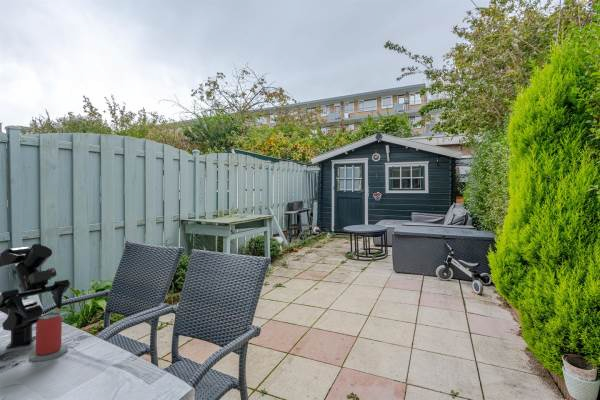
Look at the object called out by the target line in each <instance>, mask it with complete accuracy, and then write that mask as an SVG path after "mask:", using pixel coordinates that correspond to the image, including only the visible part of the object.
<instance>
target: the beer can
mask: <svg viewBox="0 0 600 400" xmlns="http://www.w3.org/2000/svg"><path fill="white" fill-rule="evenodd" d="M62 322H63V321H62V316H61V313H59V312H49V313H45V314H42V315H41V316H40V317H39V318H38V321H37V323H35V324H36V325H35V336H36V338H35V351H36V352H35V353H36V354H37V355H40V356H43V355H49V354H52V353H55V352H57V351H58V350H59V349H60V348H61V345H62V334H63V333H62V332H63V331H62V329H63V328H62V327H63V326H62V324H63V323H62Z"/></svg>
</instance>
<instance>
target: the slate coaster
mask: <svg viewBox="0 0 600 400" xmlns="http://www.w3.org/2000/svg"><path fill="white" fill-rule="evenodd" d="M68 349H69V347H68V346H67V345H66V344H61V348H60V349H59V350H58V351H57V352H55V353H52V354H49V355H43V356H40V355H37V354H36V353H35V352H36V350H33V352H31V353H30V354H29V355H28V361H29V362H32V363H40V362H41V363H42V362H47V361H51V360H54V359H57V358H59V357H61V356H64V355H65V354H66V353H67V352H68Z"/></svg>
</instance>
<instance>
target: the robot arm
mask: <svg viewBox="0 0 600 400" xmlns="http://www.w3.org/2000/svg"><path fill="white" fill-rule="evenodd" d="M52 254H53V250H52V248H49V247H48V246H46V245H42V244H41V243H40V242H38V243H33V244H32V245H31V247H29V246H20V247H11V248H6V249H5V250H3V251H2V252H0V271H1V270H3V269H6V268H8V267H10V266H12V265H16V266H15V267H14V269H13V270H12V273H11V274H12V275H17V278H18V282H19V284H18V285H19V287H20V288H22V291H19V289H18V288H14V289H13V288H12V289H9V290H3V291H2V292H0V312H1V313H3V314H5V315H7V316H6V317H7V318H6V319H5V320H4V321H3V322H2V329H3V331H9V332H10V342H9V343H8V344H7V345H6V346H5V348H6V349H11V348H19V347H23V346H29V345H31V344H32V343H33V342H34V340H36V335H35V336H33V325H34V324H37V321H38V318H39V317H40V316H42V315H43V307H42V306H41V305H40V304H39V302H38V301H35V300H33V299H31V298H27V297H33V296H37V295H42V294H46V293H51V295H52V299H53V301H54V303H55V306H56V308H57V309H58V310H61V308H62V303H63V302H62V301H63V295H64V293H66V292H67V291H68V289H69V288H70V286H71V285H72V283H71V282H70V280H69V279H67V278H65V279H60V280H55V281H54V283H53V285H49V286H46V285H48V284H49V280H52V278H55V277H56V276H57V270H56V268H55V267H51V268H49V267H48V269H45V270H40V269H39V268H41V267H42V266H44V264H46V262H47V261H48V260H49V258H50V257H51V256H52ZM22 298H26V299H22Z"/></svg>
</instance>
